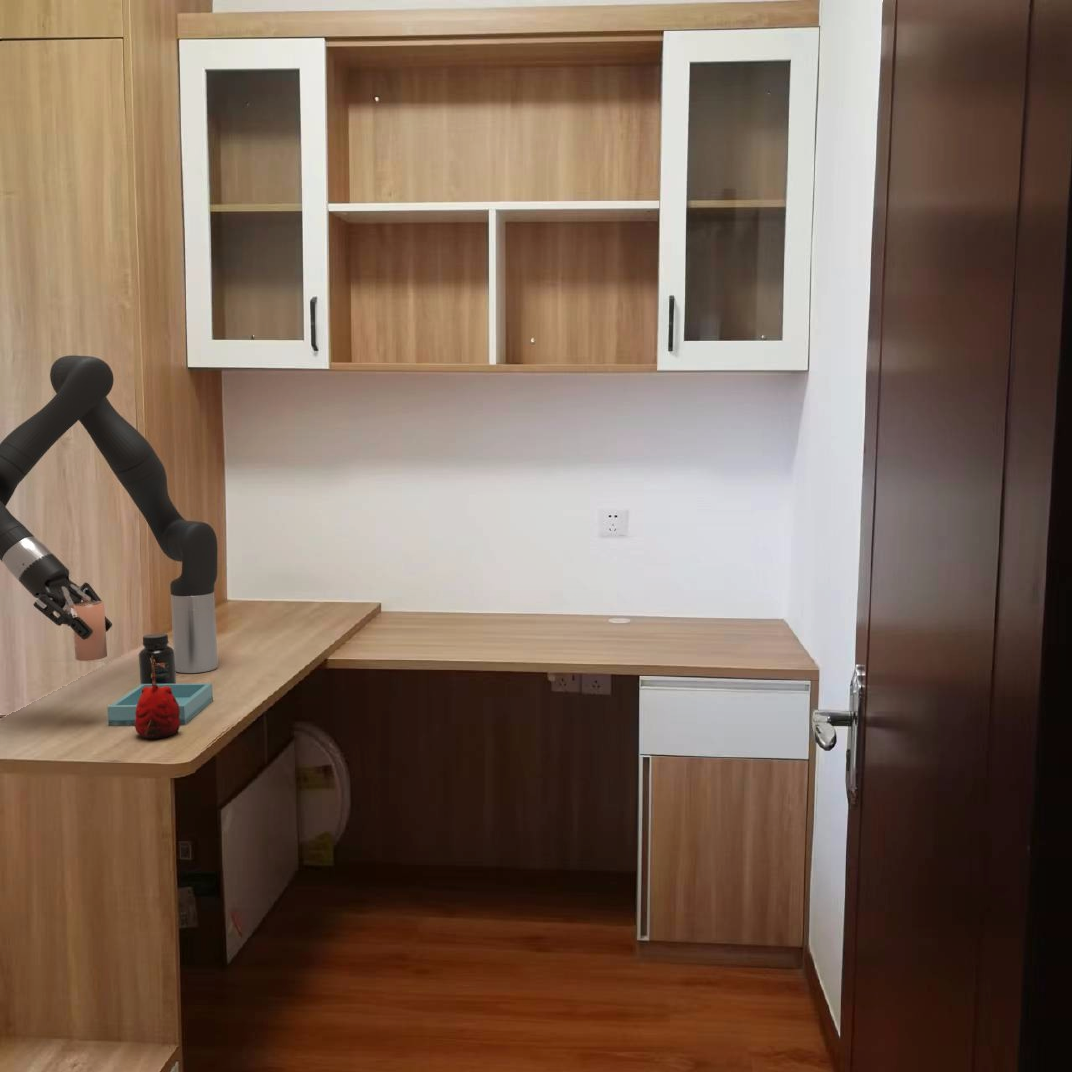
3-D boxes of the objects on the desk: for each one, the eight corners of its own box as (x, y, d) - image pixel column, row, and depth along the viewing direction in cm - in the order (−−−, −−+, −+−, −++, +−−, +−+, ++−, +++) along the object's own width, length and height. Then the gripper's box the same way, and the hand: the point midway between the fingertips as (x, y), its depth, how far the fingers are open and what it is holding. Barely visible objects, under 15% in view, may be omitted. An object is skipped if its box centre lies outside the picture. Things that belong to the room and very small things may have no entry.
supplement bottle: (181, 688, 210) (178, 631, 208) (170, 697, 203) (167, 638, 202) (147, 688, 210) (144, 632, 208) (135, 697, 203) (132, 639, 201)
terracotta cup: (83, 653, 189) (80, 600, 187) (112, 653, 189) (109, 600, 187) (69, 660, 183) (66, 606, 182) (99, 660, 183) (95, 606, 182)
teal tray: (142, 701, 200) (141, 683, 200) (212, 700, 200) (212, 683, 200) (108, 725, 184) (107, 706, 184) (185, 724, 184) (184, 706, 184)
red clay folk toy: (184, 728, 182) (180, 647, 181) (176, 740, 176) (171, 656, 174) (140, 730, 181) (135, 648, 180) (130, 742, 174) (125, 657, 173)
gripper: (21, 558, 178) (87, 627, 177) (72, 547, 192) (133, 611, 191) (-4, 587, 180) (62, 655, 179) (49, 574, 194) (109, 637, 193)
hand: (98, 632), depth 185 cm, fingers closed on terracotta cup, 5 cm apart
